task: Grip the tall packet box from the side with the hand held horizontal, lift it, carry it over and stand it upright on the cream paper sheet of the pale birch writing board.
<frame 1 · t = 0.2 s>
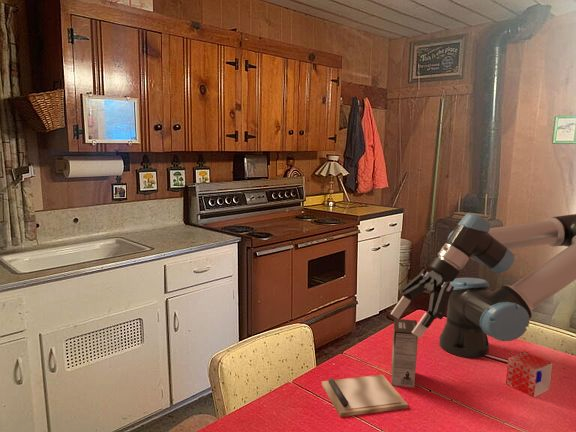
hand: (404, 325, 128), 15 cm above the table, tool tilted 35°, fingers open, 13 cm apart
writing board: (362, 395, 120), on the table
red patterned cube: (527, 387, 126), on the table
coffee box: (402, 379, 129), on the table
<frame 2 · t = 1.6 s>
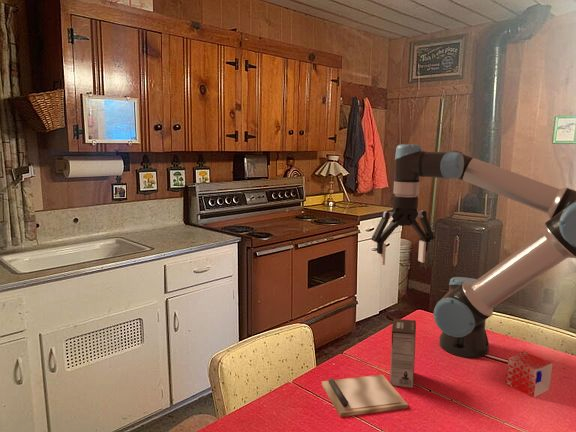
hand: (401, 262, 143), 29 cm above the table, tool pointing down, fingers open, 13 cm apart
nothing on the table moved.
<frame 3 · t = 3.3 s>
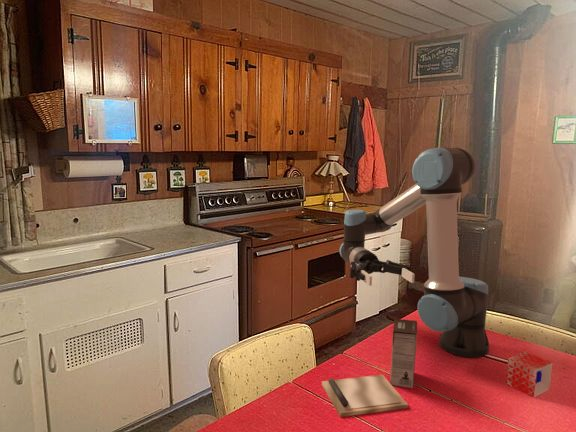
hand: (392, 279, 134), 26 cm above the table, tool horizontal, fingers open, 13 cm apart
nothing on the table moved.
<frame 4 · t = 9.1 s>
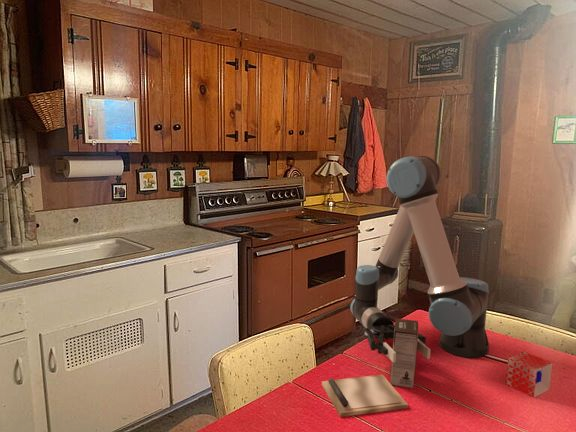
hand: (411, 355, 123), 9 cm above the table, tool horizontal, fingers closed on coffee box, 9 cm apart
coffee box: (402, 379, 129), on the table, touching gripper
everything else where it was.
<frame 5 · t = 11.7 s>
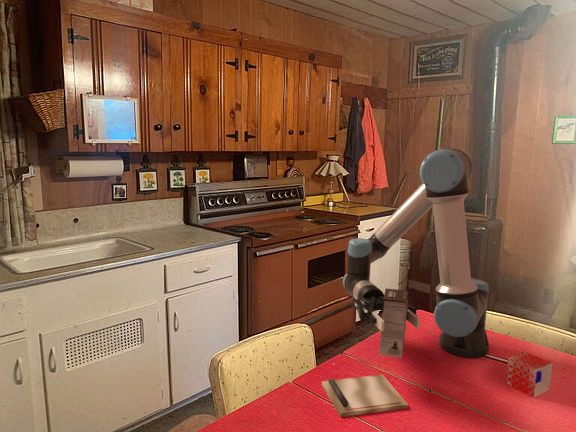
hand: (400, 325, 121), 18 cm above the table, tool horizontal, fingers closed on coffee box, 9 cm apart
coffee box: (391, 349, 127), point 9 cm above the table, touching gripper
everything else where it was.
when the fingers open (11 cm above the table, at t = 14.3 s): coffee box drops 1 cm, resting on writing board.
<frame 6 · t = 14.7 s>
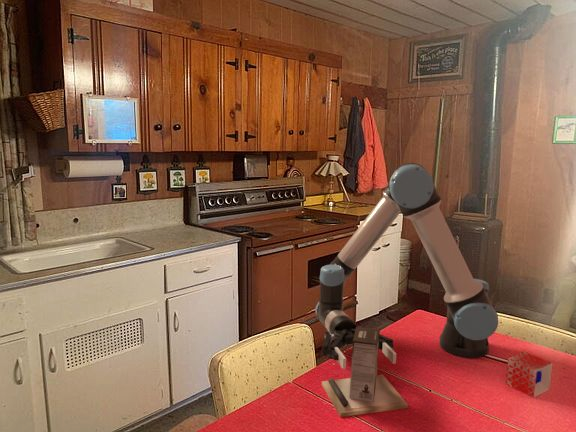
hand: (370, 361, 115), 11 cm above the table, tool horizontal, fingers open, 13 cm apart
coffee box: (363, 392, 120), point 1 cm above the table, touching writing board
everything else where it was.
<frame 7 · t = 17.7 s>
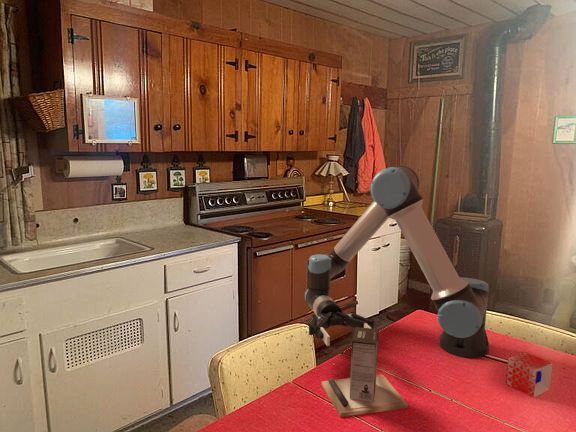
hand: (351, 339, 127), 11 cm above the table, tool horizontal, fingers open, 13 cm apart
nothing on the table moved.
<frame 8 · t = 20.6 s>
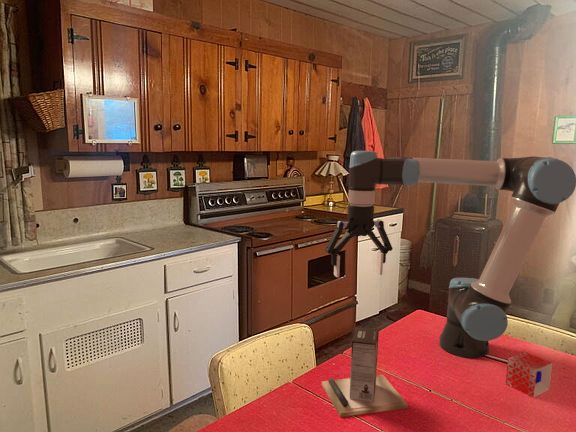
hand: (358, 274, 136), 27 cm above the table, tool pointing down, fingers open, 13 cm apart
nothing on the table moved.
at the end: coffee box inside the target area on the writing board (0.0 cm from its centre), point 1.0 cm above the writing board's base; coffee box tilted 0°; the gripper is holding nothing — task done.
